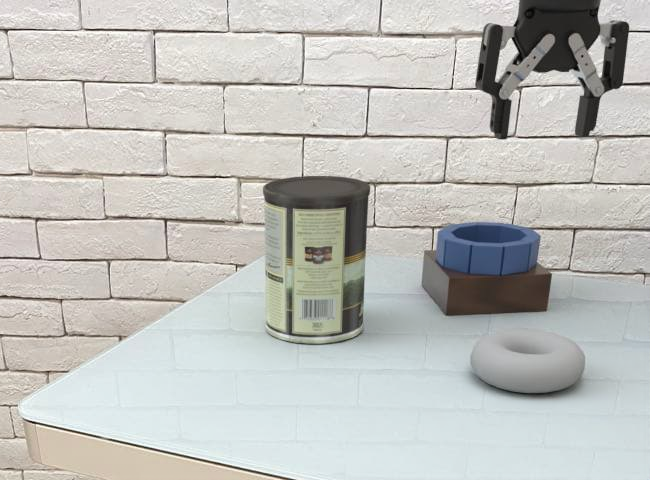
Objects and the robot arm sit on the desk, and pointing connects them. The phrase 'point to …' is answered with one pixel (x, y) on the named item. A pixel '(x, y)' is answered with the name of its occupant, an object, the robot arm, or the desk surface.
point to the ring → (487, 248)
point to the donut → (527, 360)
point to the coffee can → (315, 258)
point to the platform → (485, 289)
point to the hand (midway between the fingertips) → (541, 137)
